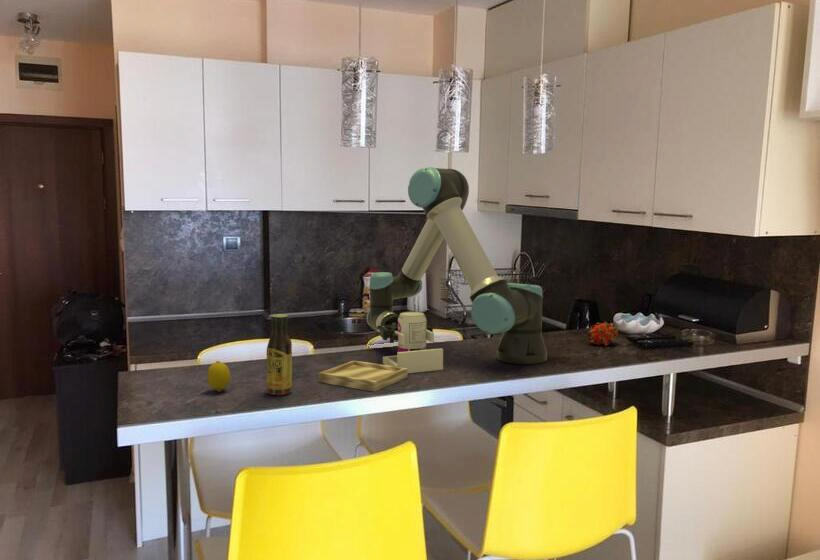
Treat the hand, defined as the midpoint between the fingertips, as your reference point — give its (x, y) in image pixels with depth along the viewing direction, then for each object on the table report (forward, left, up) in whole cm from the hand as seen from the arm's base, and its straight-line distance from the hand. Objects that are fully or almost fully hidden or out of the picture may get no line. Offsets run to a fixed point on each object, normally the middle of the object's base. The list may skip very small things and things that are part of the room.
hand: (418, 338), depth 187 cm
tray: (+8, +16, -9) cm, 20 cm away
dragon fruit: (-36, -60, -9) cm, 71 cm away
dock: (+4, -3, -9) cm, 10 cm away
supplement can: (+4, -3, -9) cm, 10 cm away
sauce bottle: (+19, +37, -9) cm, 43 cm away
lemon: (+33, +44, -9) cm, 56 cm away
